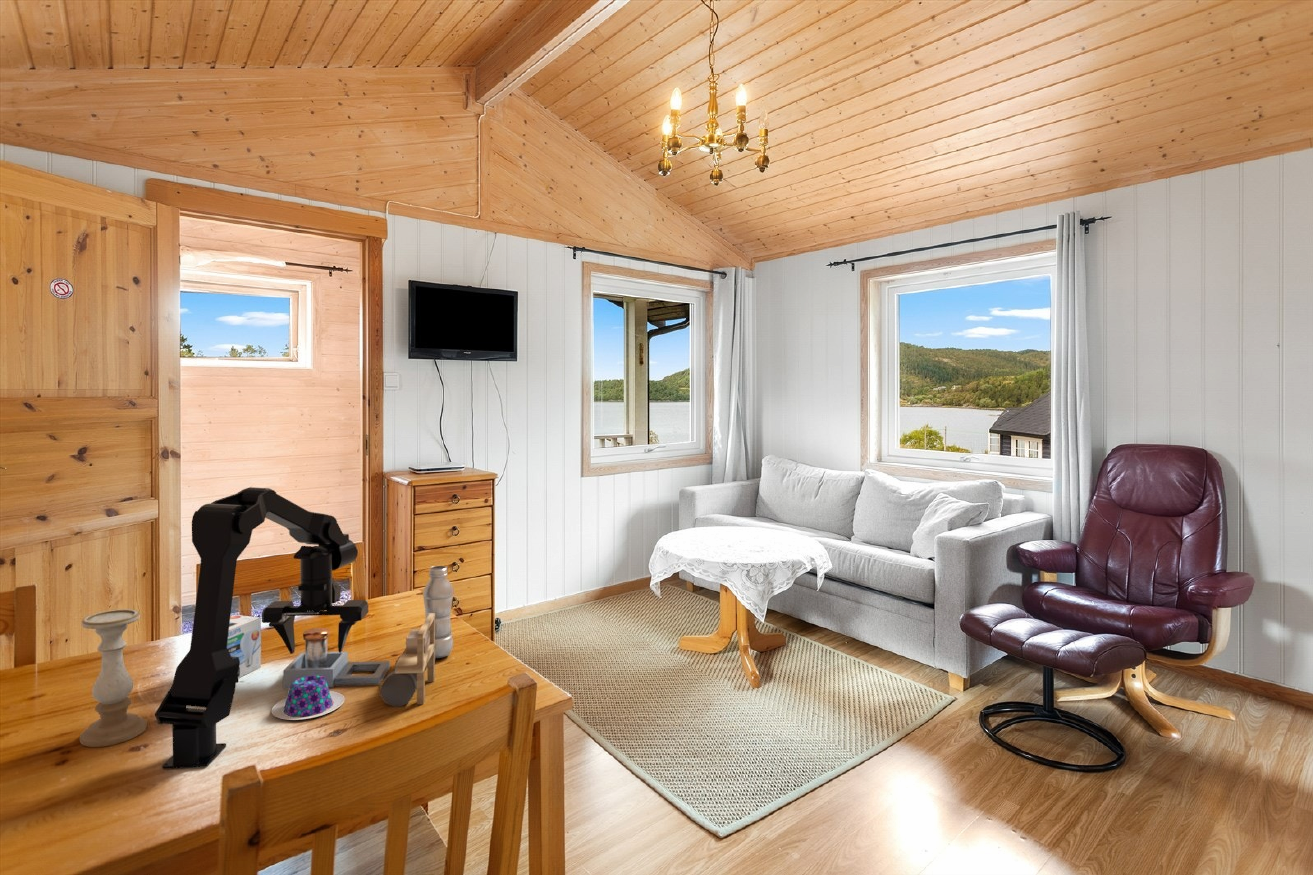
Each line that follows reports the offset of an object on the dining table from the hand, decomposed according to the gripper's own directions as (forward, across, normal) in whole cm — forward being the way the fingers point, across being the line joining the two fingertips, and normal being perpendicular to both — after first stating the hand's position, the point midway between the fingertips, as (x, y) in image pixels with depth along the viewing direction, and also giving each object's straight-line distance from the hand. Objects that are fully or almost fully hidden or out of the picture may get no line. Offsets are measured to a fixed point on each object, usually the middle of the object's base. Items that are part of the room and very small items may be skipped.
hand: (316, 652), depth 138 cm
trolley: (+5, -20, +8) cm, 22 cm away
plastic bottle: (+6, -22, -10) cm, 25 cm away
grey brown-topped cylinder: (+5, 0, 0) cm, 5 cm away
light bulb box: (+6, +18, -3) cm, 19 cm away
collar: (+5, -9, 0) cm, 10 cm away
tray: (+5, 0, 0) cm, 5 cm away
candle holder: (+6, +25, +21) cm, 33 cm away
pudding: (+6, -3, +13) cm, 15 cm away
